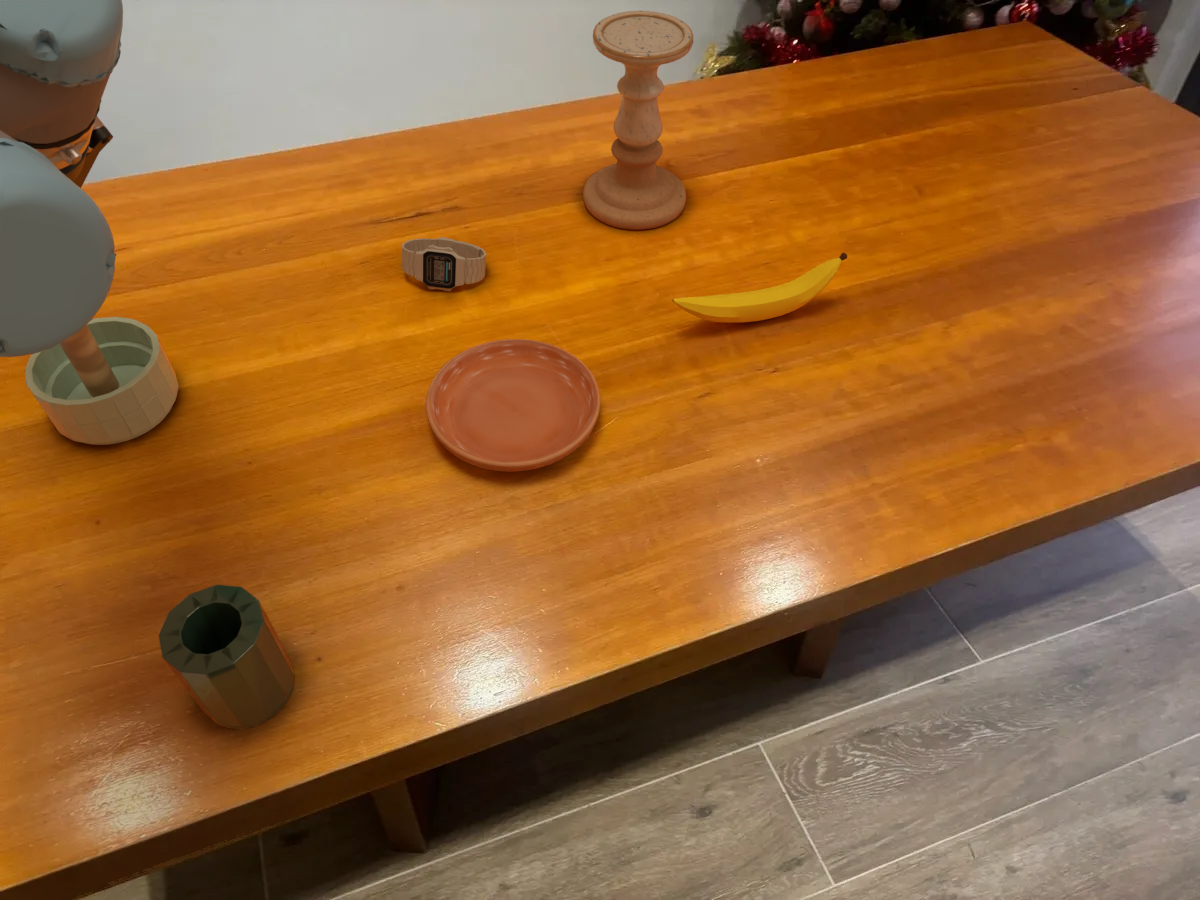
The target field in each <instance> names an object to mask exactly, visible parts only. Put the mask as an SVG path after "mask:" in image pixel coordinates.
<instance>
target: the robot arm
mask: <svg viewBox="0 0 1200 900" xmlns="http://www.w3.org/2000/svg"><path fill="white" fill-rule="evenodd" d="M123 22H124V5H123V0H0V358H14V357H15V358H16V357H25V356H28V355H32V354H33V353H38V352H41V351H44V350H47V349H50V348H52V347H54V346H56V345H58V344H60V343H62V342H63V341H65V340H67V339H68V338H70V337H71V336H73V335H74V334H76V333H77V332H78V331H80V330H81V329H82V328H84V327H85V326H86V325H87V324H88V323H89V322H90V321H91V320H92V319H94V317H95V316H96V315H97V313H98V312H99V311H100V309H101V308H102V306H103V305H104V303H105V301H106V299H107V297H108V296H109V295H108V294H109V293H110V290H111V287H112V284H113V281H114V276H115V271H116V263H115V262H116V257H117V254H116V253H115V241H114V236H113V233H112V230H111V226H110V225H109V223H108V220H107V219H106V217H105V215H104V214H103V212H102V209H100V208H99V206H98V205H97V203H96V202H95V200H94V199H93V197H91V196H90V195H89V194H88V193H87V192H85V190H84V189H83V188H82V187H83V186H84V183H85V181H86V179H87V177H88V176H89V173H90V172H91V169H92V168H93V165H94V164H95V162H96V160H97V158H98V156H99V155H100V152H101V151H102V150H103V149H104V148H106V146H107V145H108V144H109V143H111V141H112V140H113V138H114V135H113V134H112V133H111V131H110V130H109V129H108V128H107V126H106V125H105V124H104V123H103V122H102V120H101V119H100V118H99V117H98V114H99V112H100V108H101V103H102V98H103V96H104V92H105V90H106V88H107V84H108V81H109V79H110V78H111V77H110V76H111V74H112V73H113V72H114V69H115V67H116V66H117V65H118V63H119V60H120V58H121V47H122V42H121V39H122V32H123V24H124V23H123Z"/></svg>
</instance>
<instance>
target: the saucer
mask: <svg viewBox="0 0 1200 900" xmlns="http://www.w3.org/2000/svg"><path fill="white" fill-rule="evenodd" d="M427 390H428V391H427V394H426V400H425V410H426V411H425V412H426V416H427V421H428V423H429V425H430V428H431V430H432V432H433V434H434V436H435V437H436V439H437V440H438V442H439V443H440V444H441V445H442V446H443V447H444V448H445V450H447V451H448V452H449V453H450V454H451V455H453V456H455V457H456V458H458V459H460V460H462V461H464V462H465V463H468V464H470V465H472V466H475V467H478V468H482V469H485V470H490V471H496V472H524V471H525V472H526V471H531V470H536V469H540V468H543V467H548V466H549V465H552V464H554V463H557V462H560V461H561V460H563V459H565V458H566V457H568V456H569V455H571V454H572V453H574V452H575V451H576V450H577V449H578V448H580V447H581V446H582V445H583V444H584V443H585V442H586V441H587V439H588V438H589V437H590V435H591V434H592V432H593V430H594V429H595V426H596V424H597V421H598V417H599V414H600V410H601V393H600V388H599V384H598V382H597V380H596V377H595V376H594V374H593V373H592V371H591V370H590V369H589V367H588V366H587V365H586V364H585V363H584V362H583V361H582V360H581V359H580V358H578V357H577V356H575V355H574V354H572V353H571V352H569V351H568V350H566V349H564V348H561V347H559V346H557V345H553V344H551V343H548V342H544V341H540V340H534V339H525V338H524V339H523V338H506V339H498V340H492V341H488V342H483V343H480V344H477V345H475V346H472V347H469V348H467V349H466V350H463V351H461V352H459V353H458V354H456V355H455V356H453V357H452V358H451V359H449V360H448V361H447V362H446V363H445V364H444V365H443V366H442V367H440V369H439V370H438V371H437V373H436V374H435V376H434V377H433V379H432V380H431V382H430V384H429V387H428V389H427Z"/></svg>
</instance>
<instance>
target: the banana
mask: <svg viewBox="0 0 1200 900" xmlns="http://www.w3.org/2000/svg"><path fill="white" fill-rule="evenodd" d="M847 259H848V254H847V253H846V252H841V254H840V256H839V257H836V258H831V259H829V260H826V261H824V262H822V263H819V264H818V265H816V266H815V267H813V268H811V269H810V270H808V271H807V272H804V274H802V275H800V276H798V277H797V278H795V279H792V280H790V281H788V282H785V283H781V284H778V285H775V286H771V287H767V288H763V289H757V290H756V289H755V290H750V291H742V292H734V293H724V294H711V295H701V296H689V297H688V296H683V297H677V298H673V299H671V300H672V303H674V304H675V305H676V306H678V308H679V309H681V310H682V311H685V312H687V313H688V314H690V315H692V316H693V317H697V318H699V319H701V320H704V321H709V322H715V323H751V322H759V321H765V320H769V319H770V320H771V319H774V318H777V317H781V316H784V315H787V314H790V313H791V312H794V311H797V310H798V309H800V308H802V307H803V306H805V305H806V304H808V303H810V302H812V300H814V299H815V298H816V297H817V296H818V295H819V294H821V292H822V291H824V289H825V288H826V287H827V286H828V285H829V284H830V282H831V281H832V280H833V278H834V277H835V276H836V274H837V273H838V270H839V269H840V266H841V264H842V262H843V261H844V260H847Z"/></svg>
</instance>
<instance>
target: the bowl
mask: <svg viewBox="0 0 1200 900" xmlns="http://www.w3.org/2000/svg"><path fill="white" fill-rule="evenodd" d="M87 326H88V328H89V330H90V331H91V333H92V335H93V337H94V339H95V340H96V342H97V344H98V346H99V348H100V349H101V351H102V353H103V355H104V357H105V358H106V360H107V362H108V364H109V366H110V367H111V369H112V371H113V373H114V375H115V376H116V378H117V380H118V382H119V388H118V389H116V390H114V391H112V392H110V393H108V394H104V395H101V396H97V397H92V396H91V395H90V394H89V392H88V391H87V389H86V387H85V386H84V384H83V382H82V381H81V379H80V377H79V376H78V374H77V372H76V371H75V369H74V367H73V366H72V364H71V362H70V361H69V359H68V357H67V356H66V354H65V352H64V351H63V349H62V347H61V346H60V344H58V345H56V346H54V347H52V348H50V349H47V350H44V351H41V352H38V353H33V354H30V357H29V359H28V362H27V364H26V366H25V369H24V377H25V385H26V387H27V388H28V389H29V391H30V393H31V394H32V395H33V397H34V399H35V400H36V401H37V403H38V404H39V406H40V407H41V409H42V410H43V412H44V413H45V415H46V416H47V417H48V419H49V420H50V422H51V423H52V425H53V426H54V428H55V429H56V430H57V431H58V433H59V434H60V435H62V436H64V437H65V438H67V439H69V440H71V441H74V442H76V443H82V444H87V445H93V446H109V445H115V444H121V443H125V442H127V441H130V440H134V439H135V438H138V437H141V436H142V435H144V434H146V433H149V432H150V431H151V430H152V429H154V428H155V427H157V426H158V425H159V424H160V423H161V422H162V421H163V420H164V419H165V418H166V417H167V416H168V415H169V413H170V411H171V410H172V408H173V406H174V404H175V402H176V400H177V397H178V392H179V389H180V387H179V386H180V385H179V381H178V377H177V374H176V372H175V369H174V368H173V365H172V364H171V361H170V359H169V357H168V356H167V353H166V351H165V349H164V347H163V345H162V343H161V341H160V339H159V336H158V335H157V334H156V332H154V330H153V329H152V328H151V327H150V326H149V325H148V324H145V323H143V322H141V321H139V320H137V319H134V318H128V317H122V316H108V317H107V316H105V317H95V318H92V320H91V321H90V322H89V323H88V324H87Z"/></svg>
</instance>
